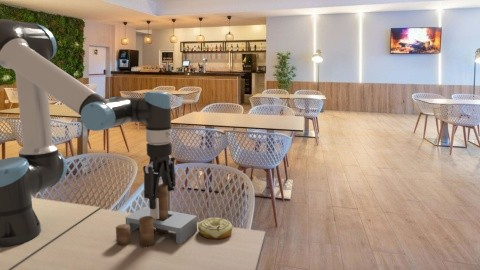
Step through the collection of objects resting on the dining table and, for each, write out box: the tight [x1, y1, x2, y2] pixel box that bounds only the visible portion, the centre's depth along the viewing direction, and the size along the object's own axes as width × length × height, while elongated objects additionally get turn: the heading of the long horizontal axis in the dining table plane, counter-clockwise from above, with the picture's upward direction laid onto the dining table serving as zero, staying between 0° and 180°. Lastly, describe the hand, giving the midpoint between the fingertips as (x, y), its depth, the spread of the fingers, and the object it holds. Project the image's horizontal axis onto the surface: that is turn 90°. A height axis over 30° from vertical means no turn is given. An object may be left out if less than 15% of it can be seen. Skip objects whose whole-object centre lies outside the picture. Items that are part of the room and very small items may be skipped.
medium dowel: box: [138, 216, 155, 248], centre depth 110 cm, size 4×4×8 cm
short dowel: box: [115, 223, 132, 247], centre depth 111 cm, size 4×4×5 cm
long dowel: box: [155, 183, 169, 235], centre depth 118 cm, size 4×4×15 cm
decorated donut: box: [197, 217, 234, 240], centre depth 119 cm, size 10×11×4 cm
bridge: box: [124, 206, 198, 245], centre depth 119 cm, size 20×10×5 cm, turn 67°
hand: (161, 213), depth 118 cm, fingers open, 6 cm apart
